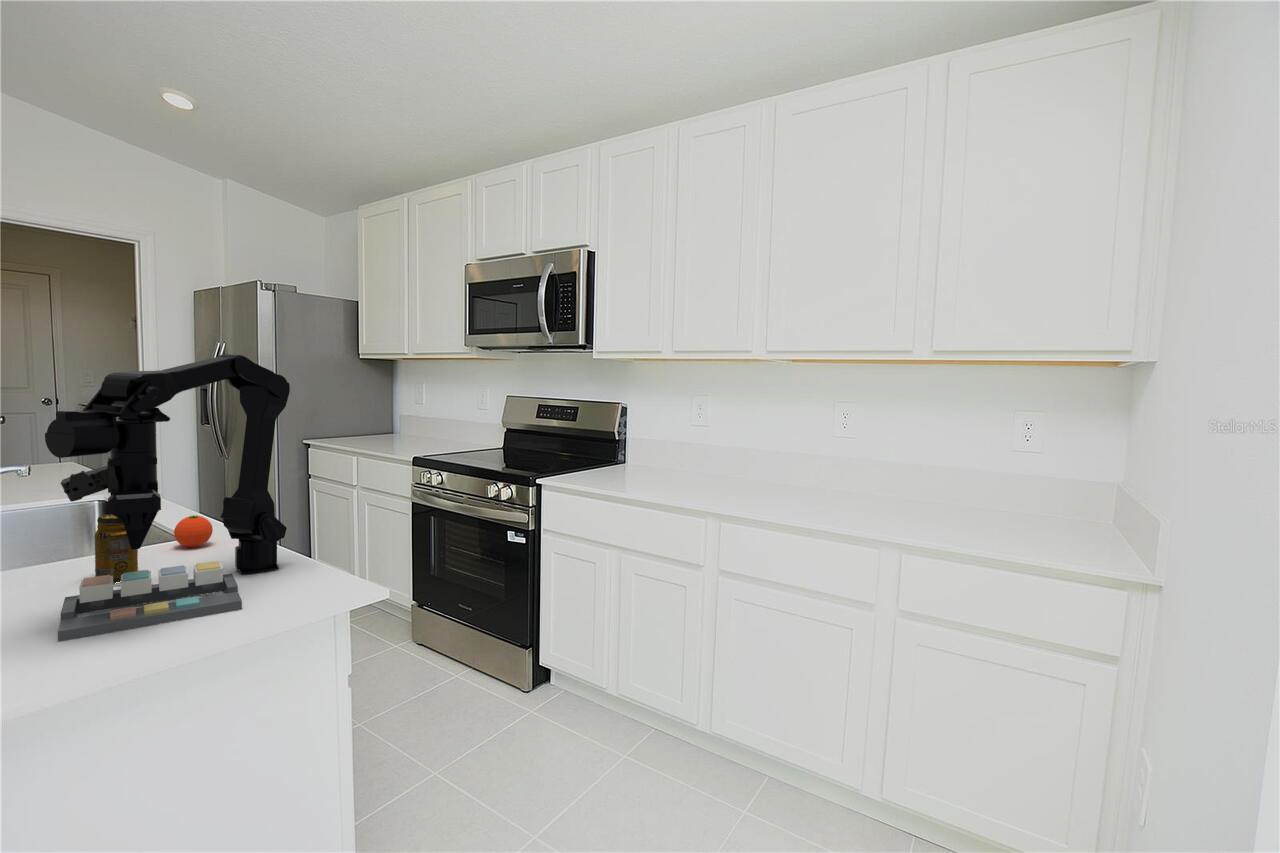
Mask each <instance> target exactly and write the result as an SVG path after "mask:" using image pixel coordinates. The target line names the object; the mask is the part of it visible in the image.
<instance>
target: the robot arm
mask: <svg viewBox="0 0 1280 853" xmlns="http://www.w3.org/2000/svg"><path fill="white" fill-rule="evenodd" d="M224 380H226V381H227V383H228V384H229V385H230V386H231V387H232V388H234V389H236V390H237V391H239V403H240V405H241V407H242V409H243V411H244V414H245V415H246V419H245V430H244V438H243V446H242V454H241V462H240V470H239V478H238V479H239V480H238V487H237V489H236V490H235V492H234V493H233V494H232V496H231V497H228V496H225V497H223V501H222V504H223V505H222V506H223V509H222V512H221V515H220V519H222V522H223V526H224V527H225V528H226V530H227V531H228V534H229V536H230V539H231V540H238V545H236V546H235V547H234V558H235V559H234V567H235V569H236V570H237V571H239V574H240V575H249V574H255V573H261V572H262V573H263V572H271V571H274V570H275V571H277V570H279V569H280V566H279V564H278V542H279V541H280V540H282V539H285V535H286V532H287V528H288V527H286V525H285V524H283V523H282V522H281V521H280V520H279V519H278V518H277V517H276V513H275V512H276V511H275V502H274V500H273V498H272V496H271V494H270V492H269V480H270V472H271V471H270V470H271V464H272V455H273V448H274V439H275V438H274V437H275V432H276V431H275V429H276V422H277V418H279V417H280V414H281V413H282V412H284V409H285V408H286V407H287V403H288V399H289V395H290V391H291V387H290V382H288V381H287V379H286V378H285V377H284V376H283V375H282V374H277V373H276V372H274V371H273V370H270V369H268V368H266V367H263V366H261V365H259V364H258V363H255V362H253V361H252V360H250V358H248V357H247V356H244V355H242V354H227V353H225V354H220V355H218V356H216V357H212V358H207V359H203V360H199V361H194V362H190V363H186V364H182V365H177V366H174V367H170V368H166V369H161V370H159V369H158V370H132V371H131V370H130V371H117V372H112V373H108V374H107V375H105V377H104V378H103V381H102V383H101V386H100V388H99V390H97V392H96V393H95V394H94V396H93V397H92V398H91V400H90V401H89V402H88V403H87V404H86V406H85V407H84V408H83V409H82V411H74V410H57V411H56V412H55V419H53V420H52V421H51V422H50V424H48V427H47V430H46V431H45V432H44V440H45V445H46V448H47V449H48V451H49V452H50V454H52V455H53V456H54V457H56V458H58V459H64V458H73V457H83V456H94V455H103V454H104V455H105V454H108V453H110V454H109V455H110V457H108V458H107V464H106V465H105V466H102V467H98V468H94V469H91V470H88V471H85V470H82V471H80V472H78V473H75V474H74V473H71V474H70V476H68V477H66V478H63V479H62V480H61V482H60V486H61V487H62V488H63V489H62V490H63V493H65V494H66V496H67V498H68V499H69V502H76V501H80V500H83V498H84V497H87V496H90V495H94V494H97V493H99V492H102V491H103V492H104V491H105V490H107V493H108V494H110V496H108V498H107V502H106V503H107V504H106V505H107V514H111V515H114V516H116V517H118V518H119V519H121V520H122V521H123V524H124V527H125V530H126V534H127V537H128V540H129V544H130V547H131V549H132V550H134V549H137V550H140V549H141V547H142V545H143V543H144V541H145V539H146V538H147V535H148V532H149V530H150V529H151V527H152V524H153V523H154V520H155V518H156V517H157V515H158V512H159V511H161V510H162V497H161V494H160V493H159V482H158V455H157V454H158V452H157V449H158V448H157V423H162V422H170V421H171V418H170V416H168V415H166V414H165V413H164V412H162V411H161V410H160V408H159V406H161V405H163V404H165V403H168V402H170V401H171V400H172V399H173V398H174V397H175V396H176V395H178V394H180V393H182V392H184V391H189V390H192V389H195V388H200V387H202V386H206V385H210V384H214V383H217V382H221V381H224Z"/></svg>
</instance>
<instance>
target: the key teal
mask: <svg viewBox="0 0 1280 853" xmlns="http://www.w3.org/2000/svg"><path fill="white" fill-rule="evenodd" d="M142 570H143V571H136V572H128V573H123V574H122V575H121V582H120V583H121V585H120V589H121V597H125V596H130V601H133V600H139V599H143V594H145V593H152V585H153V583H152V571H151V570H149V569H142Z"/></svg>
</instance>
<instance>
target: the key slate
mask: <svg viewBox="0 0 1280 853" xmlns="http://www.w3.org/2000/svg"><path fill="white" fill-rule="evenodd" d="M157 572H158V584H159V591H165V590H167V594H168V595H172V594H178V593H180V588H185V587H188V580H189V571H188V567H187V566H185V564H183V565H176V566H168V567H160V569H158V571H157Z"/></svg>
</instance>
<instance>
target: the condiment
mask: <svg viewBox="0 0 1280 853" xmlns="http://www.w3.org/2000/svg"><path fill="white" fill-rule="evenodd" d="M96 521H97V526H96V528H97V530H96V531H95V533H94V550H95V551H94V564H95V565H94V568H95V569H94V570H95V571H94V572H95V575H94V576H93V577H97V576H105V575H110V576H113V587H114V586H115V587H116V586H121V582H120V581H121V575H122V574H123V573H128V572H136V571H143V570H144V569H141V570H138V569H139V567H138V564H139V562H138V561H139V560H138V558H139V557H138V555H139V554H138V553H139V549H134V550H132V549H131V547H130V544H129V540H128V537H127V534H126V530H125V527H124V524H123V521H122V520H121V519H119V518H118V517H116V516H114V515H111V514H108V513H107V514H103V515H100V516H99V517H97V519H96ZM116 582H120V583H116ZM115 583H116V584H115Z"/></svg>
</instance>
